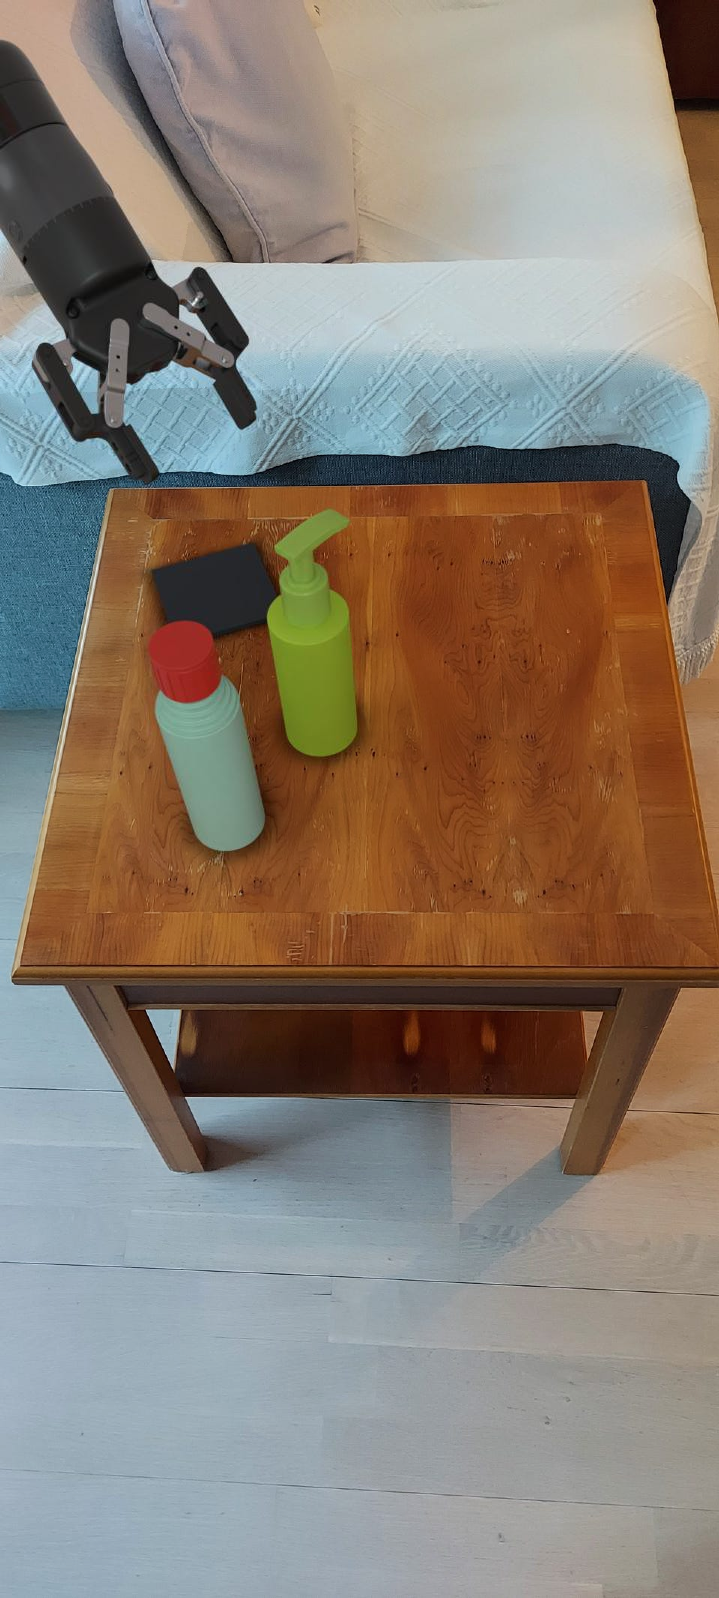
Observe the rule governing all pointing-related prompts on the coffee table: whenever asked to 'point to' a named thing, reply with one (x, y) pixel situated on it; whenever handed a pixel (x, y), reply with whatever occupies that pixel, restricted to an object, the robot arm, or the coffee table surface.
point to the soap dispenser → (313, 644)
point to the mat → (217, 590)
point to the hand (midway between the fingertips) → (201, 452)
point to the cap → (185, 661)
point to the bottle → (214, 766)
